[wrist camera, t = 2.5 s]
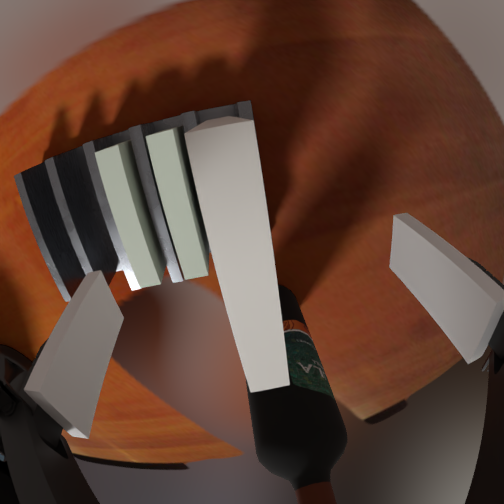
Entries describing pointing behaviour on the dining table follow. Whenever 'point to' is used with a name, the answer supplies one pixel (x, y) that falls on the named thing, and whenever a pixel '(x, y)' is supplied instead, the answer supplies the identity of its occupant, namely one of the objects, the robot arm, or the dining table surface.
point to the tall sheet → (241, 243)
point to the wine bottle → (299, 415)
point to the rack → (100, 204)
